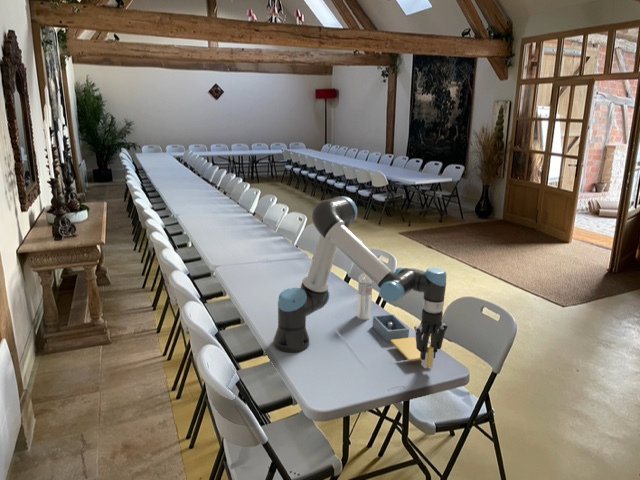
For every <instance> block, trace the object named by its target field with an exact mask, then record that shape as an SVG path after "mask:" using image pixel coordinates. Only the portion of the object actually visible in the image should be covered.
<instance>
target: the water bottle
mask: <svg viewBox="0 0 640 480" xmlns="http://www.w3.org/2000/svg"><path fill="white" fill-rule="evenodd" d="M357 280H358V288H357V299H356V318H357V319H358V320H362V321H367V320H369V319H371V316H372V315H371V314H372V301H373V299H372V298H373V281H372V280H371V279H370V278H369V277H368V276H367V275H366V274H365V273H364V272H363V273H361V274H360V275H358V279H357Z"/></svg>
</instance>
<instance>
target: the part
mask: <svg viewBox="0 0 640 480" xmlns="http://www.w3.org/2000/svg"><path fill="white" fill-rule="evenodd" d="M393 326H394V322H391V321H389V322H388V324H387V329H391V330H393Z"/></svg>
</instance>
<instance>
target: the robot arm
mask: <svg viewBox="0 0 640 480" xmlns="http://www.w3.org/2000/svg"><path fill="white" fill-rule="evenodd" d="M357 207H358V206H357V205H356V203H355V201H353V199H351V198H350V197H349V196H343V195H342V196H335V197H333V198H328V199H324V200H320V201H319V202H318V203H316V205H314V207H313V209H312V212H311V220H312V225H314V227H315V229H316V231H317V232H318V233H319V235H320V236H319V238H318V242H317V245H316V247H315V251H314V254H313V258H312V262H311V265H310V267H309V272H308V274H307V276H305V277H304V278H303V279H302V280H301V281H302V282H301V285H300V287H291V288H287V289H284V290H282V291H281V292H280V293H279V295H278V300H277V313H278V314H277V329H276V331H275V334H274V336H273V337H274V338H273V346H274V347H275V349H277V350H279V351H281V352H286V353H298V352H302V351H304V350H306V349H308V347H309V346H310V336H309V334H308V330H307V326H306V325H307V323H306V322H307V317H308V316H310V315H311V314H313V313H315V312H317V311H318V310H321V309H322V308H323V307H324V306H326V305H327V304H328V302H329V300H330V292H329V284H328V283H327V282H328V280H329V279H328V278H329V276H330V273H331V270H332V267H333V264H334V261H335V259H336V255H337V253H338V250H340V251H341V252H342V253H343V254H344V255H345V256H346V257H347V258H348V259H350V261H351V262H353V264H354V265H355V266H357V267H358V269H359V270H361V271H362V272H363V273H365V274H366V275H367V276H368V277H369V278H370V279H371V280H372V281H373V282H374V284H375V285H376V286H377V287H378V288H379V294H380V296H381V298H382V300H384V301H386V302H387V303H395V302H397V301H400V300H401V299H402V298H403V297H404V296H406V295H407V294H409V293H411V291H415V292H419V293H423V299H422V310H421V322H420V325H418V326H417V325H415V326H414V327H413V330H414V331H415V339H416V347H417V349H418V350H419V351H420V352H421V359H422V362H421V364H420V365H421V366H422V367H423V368H424V369H428V368H427V359H428V352H427V346H428V343H429V339H430V345H431V346H432V347H433V348H434V349H433V359H432V367H431V368H433V366H434V359H436V353H438V350H441V348H442V345H443V341H444V337H445V333H446V331H447V329H448V325H447V324H446V323H443V322H442V320H443V314H444V306H445V304H444V303H445V296H446V288H447V287H446V286H447V273H446V271H445V270H444V269H442V268H439V267H437V268H435V267H428V268H427V269H426V270H425V272H424V271H420V270H415V269H411V268H407V267H397V268H396V269H395V270H394V272H393V270H391V269H390V267H388V266H387V265H386V264H385V263H384V262H383V261H382V259H380V258H379V257H378V256H377V255H376V254H374V253H373V252H372V250H371V249H369V248H368V247H367V245H365V244H364V243H363V242H362V240H360V239H359V238H358V237H357V236H356V235H355V234H354V233H353V232H352V231H351V230H350V229H349V227H350V224H352V223H353V222H355V220H356V219H357V217H358V208H357Z"/></svg>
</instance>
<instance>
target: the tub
mask: <svg viewBox="0 0 640 480" xmlns="http://www.w3.org/2000/svg"><path fill="white" fill-rule="evenodd" d="M389 321H391V322H394V326H393V330H388V329H387V324H388V322H389ZM372 328H373V329H374V330H375V331H376V333H378V335H380V337H382V338H383V340H384V341H385V342H386V343H389V344H390V343H392V342H391V340H393V339H401V338H409V337H410V336H409V333H410V329H409V328H408V326H406V325H405V323H403V322H402V321H401V320H400V319H399V318H398V317H397V316H395V314H393V313H391V314H383V315H373V316H372Z"/></svg>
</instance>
